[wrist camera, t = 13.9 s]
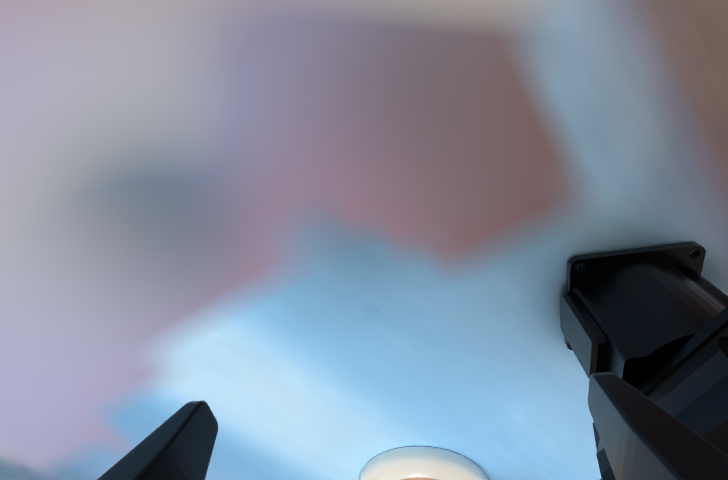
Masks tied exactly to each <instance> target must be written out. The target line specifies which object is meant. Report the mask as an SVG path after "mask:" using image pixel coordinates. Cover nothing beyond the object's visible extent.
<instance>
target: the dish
mask: <svg viewBox="0 0 728 480" xmlns="http://www.w3.org/2000/svg"><path fill="white" fill-rule="evenodd" d="M359 480H488V478H487V476H486V474H485V473H484V472H483V470H482V469H481V468H480V467H479V466H478V465H476V464H475V463H474V462H473V461H471V460H469V459H468V458H466V457H464V456H462V455H460V454H457V453H454V452H452V451H448V450H444V449H440V448H434V447H425V446H412V447H402V448H397V449H393V450H389V451H386V452H384V453H381V454H379V455H377V456H376V457H374V458H373V459H371V460H370V461H369V462H368V463H367V464H366V465H365V466H364V467H363V469H362V470H361V473H360V475H359Z"/></svg>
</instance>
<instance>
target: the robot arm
mask: <svg viewBox="0 0 728 480" xmlns="http://www.w3.org/2000/svg"><path fill="white" fill-rule="evenodd" d="M693 250H695V251H694V252H693V253H692V254H690V252H692V251H693ZM705 253H706V252H705V249H704V247H702V246H701V245H699V244H698V243H695V242H689V243H680V244H672V245H664V246H655V247H647V248H639V249H631V250H622V251H614V252H606V253H597V254H589V255H581V256H575V257H573V258H571V259H570V260H569V262H568V265H567V291H566V292H564V293H563V295H562V302H561V330H562V332H563V333H564V335H565V344H566V345H567V347H568V348H569V349H570V350H572V351H574V353H575V355H576V357H577V358H578V360H579V362H580V364H581V366H582V367H583V369H584V371H585V373H586V374H587V376H588V378H589V379H590V380H589V393H588V405H589V409H590V412H591V415H592V418H593V420H594V422H593V429H594V435H595V441H596V447H597V459H598V463H599V468H600V472H601V479H600V480H728V296H727V295H726V294H724V293H723V292H722V291H720V290H719V289H718V288H717V287H715V286H714V285H713V284H711V283H710V282H709V281H707V280H706V279H705V278H703V277H702V276H701V271H702V267H703V262H704V258H705ZM689 254H690V255H689ZM580 263H582V265H581V266H580V267H578V268H575V267H576V265H577V264H580ZM217 432H218V423H217V420H216V418H215V417H214V415H213V413H212V411H211V409H210V407H209V406H208V404H207V403H206V402H205V401H192V402H188V403H187V404H185V405H184V406H183V407H182V408H181V409H179V410H178V411H177V412H176V413H175V414H174V415H172V416H171V417H170V418H169V419H168V420H167V421H165V422H164V423H163V424H162V425H161V426H159V427H158V428H157V429H156V430H155V431H154V432H152V433H151V434H150V435H149V436H148V437H147V438H145V439H144V440H143V441H142V442H141V443H140V444H138V445H137V446H136V447H135V448H134V449H133V450H131V451H130V452H129V453H128V454H127V455H126V456H124V457H123V458H122V459H121V460H120V461H118V462H117V463H116V464H115V465H114V466H113V467H111V468H110V469H109V470H108V471H107V472H106V473H104V474H103V475H102V476H101V477H100V478H99V479H97V480H205V477H206V473H207V470H208V466H209V462H210V458H211V455H212V451H213V447H214V444H215V440H216V436H217Z"/></svg>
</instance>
